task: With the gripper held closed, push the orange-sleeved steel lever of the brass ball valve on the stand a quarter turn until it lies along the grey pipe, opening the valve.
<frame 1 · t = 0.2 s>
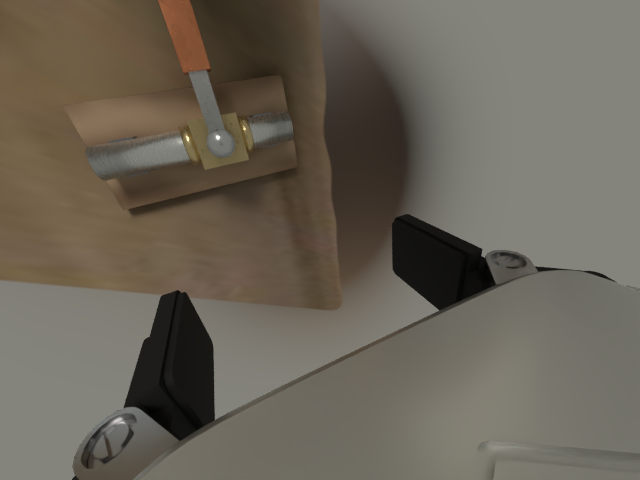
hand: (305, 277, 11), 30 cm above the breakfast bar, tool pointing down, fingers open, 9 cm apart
valve stand: (202, 141, 33), on the breakfast bar
valve lever: (202, 86, 24), point 8 cm above the breakfast bar, hinge at 0.0°
valve and pipe: (218, 138, 34), resting on valve stand
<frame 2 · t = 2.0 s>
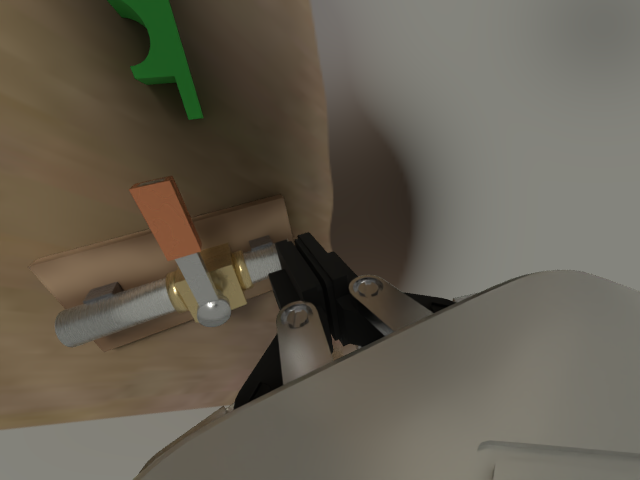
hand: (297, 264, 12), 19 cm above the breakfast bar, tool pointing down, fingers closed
pipe clamp: (160, 45, 21), on the breakfast bar
valve stand: (195, 267, 30), on the breakfast bar
valve lever: (191, 259, 21), point 8 cm above the breakfast bar, hinge at 0.0°
valve and pipe: (212, 262, 30), resting on valve stand
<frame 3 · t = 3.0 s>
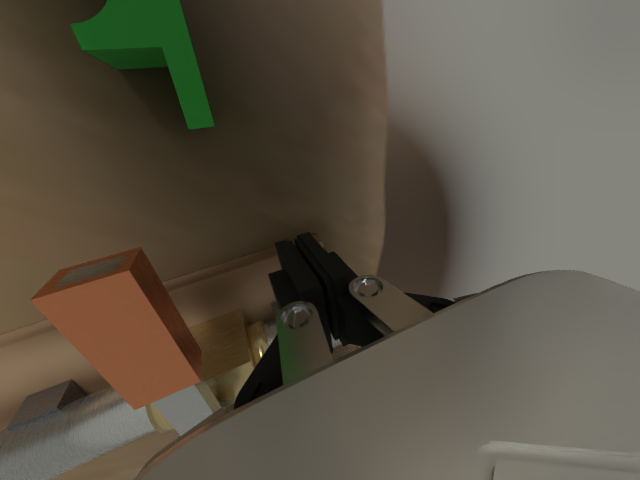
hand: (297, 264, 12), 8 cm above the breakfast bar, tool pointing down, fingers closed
pipe clamp: (139, 1, 12), on the breakfast bar
valve stand: (192, 340, 21), on the breakfast bar
valve lever: (183, 379, 12), point 8 cm above the breakfast bar, hinge at 0.0°
valve and pipe: (217, 330, 21), resting on valve stand
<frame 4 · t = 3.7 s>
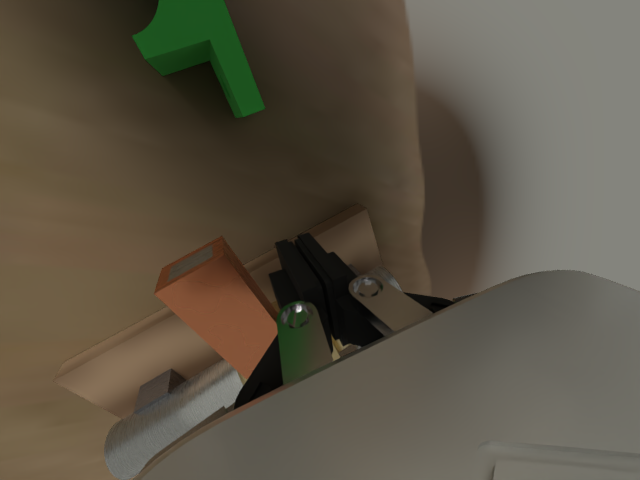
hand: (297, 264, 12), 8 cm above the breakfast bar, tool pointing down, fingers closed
pipe clamp: (169, 2, 12), on the breakfast bar
valve stand: (261, 322, 22), on the breakfast bar
valve lever: (275, 351, 13), point 8 cm above the breakfast bar, hinge at 1.4°, touching gripper
valve and pipe: (281, 311, 23), resting on valve stand
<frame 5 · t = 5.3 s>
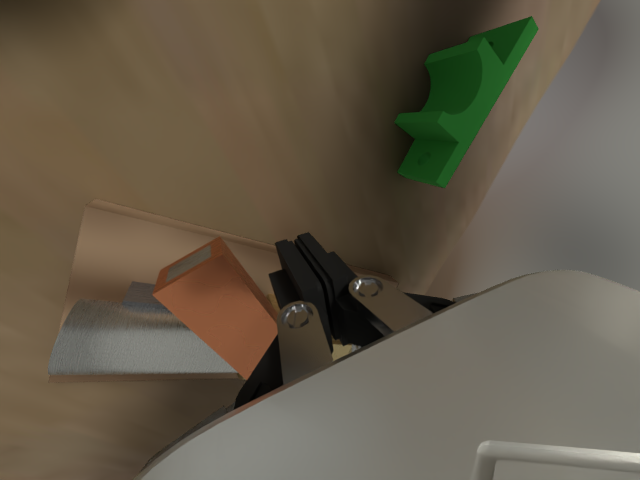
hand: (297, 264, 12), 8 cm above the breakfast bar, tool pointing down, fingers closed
pipe clamp: (424, 103, 20), on the breakfast bar
valve stand: (260, 310, 21), on the breakfast bar
valve lever: (275, 352, 13), point 8 cm above the breakfast bar, hinge at 49.6°, touching gripper
valve and pipe: (281, 312, 22), resting on valve stand
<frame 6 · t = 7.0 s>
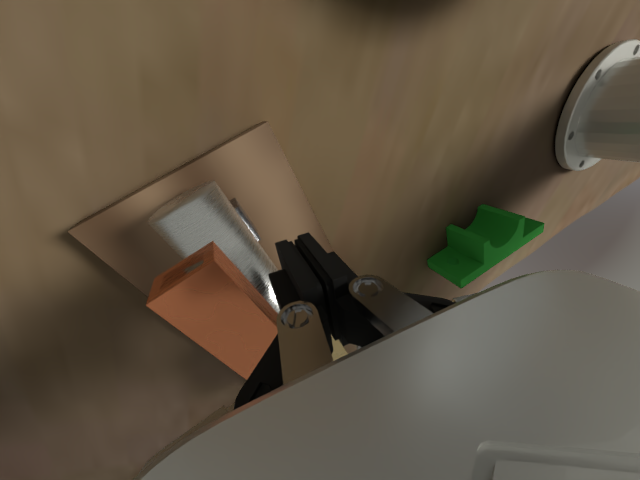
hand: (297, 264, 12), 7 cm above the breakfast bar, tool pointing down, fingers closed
pipe clamp: (463, 228, 28), on the breakfast bar
valve stand: (274, 295, 21), on the breakfast bar
valve lever: (278, 351, 13), point 8 cm above the breakfast bar, hinge at 91.7°, touching gripper
valve and pipe: (285, 309, 22), resting on valve stand
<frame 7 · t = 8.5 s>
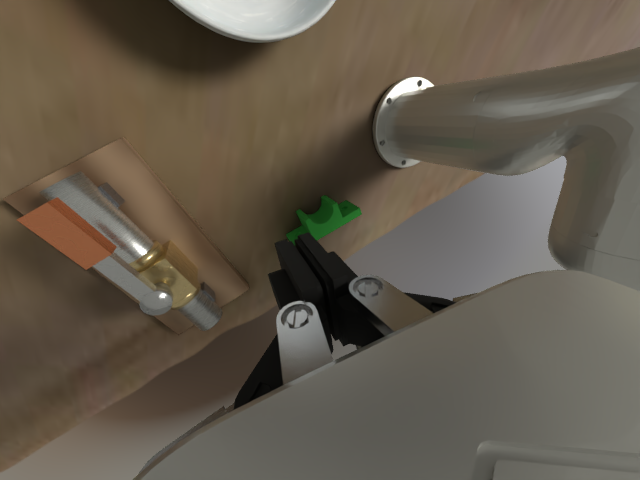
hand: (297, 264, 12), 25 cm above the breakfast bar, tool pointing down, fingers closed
pipe clamp: (314, 212, 39), on the breakfast bar
valve stand: (156, 249, 32), on the breakfast bar
valve lever: (114, 262, 24), point 8 cm above the breakfast bar, hinge at 91.7°
valve and pipe: (167, 260, 33), resting on valve stand
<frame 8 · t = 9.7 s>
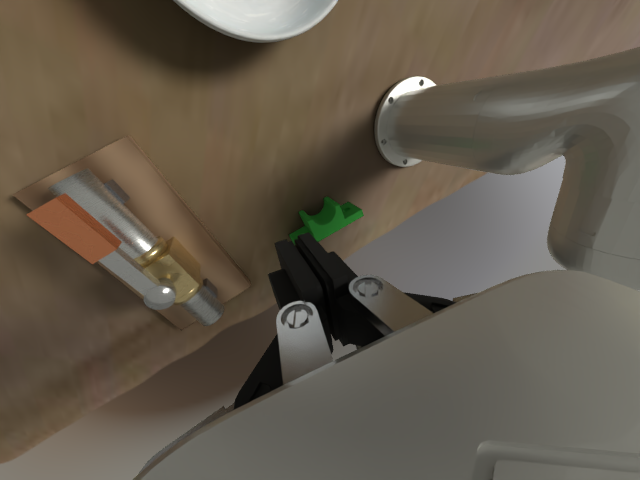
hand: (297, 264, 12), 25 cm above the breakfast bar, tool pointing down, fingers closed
pipe clamp: (317, 213, 40), on the breakfast bar
valve stand: (160, 245, 33), on the breakfast bar
valve lever: (119, 257, 24), point 8 cm above the breakfast bar, hinge at 91.7°
valve and pipe: (171, 256, 34), resting on valve stand
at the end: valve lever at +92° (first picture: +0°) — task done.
